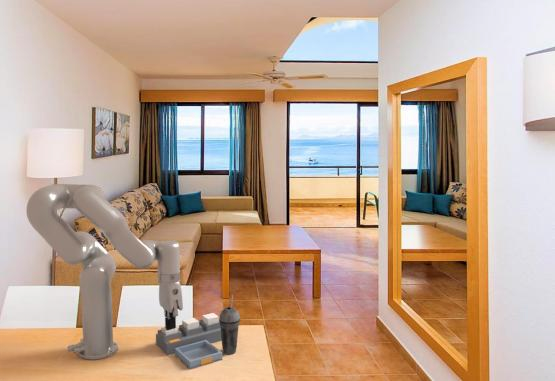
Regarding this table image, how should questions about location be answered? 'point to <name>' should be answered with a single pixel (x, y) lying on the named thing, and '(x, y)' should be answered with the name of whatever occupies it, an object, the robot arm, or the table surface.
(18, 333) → the table surface
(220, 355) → the tray
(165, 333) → the block
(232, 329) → the beverage cup
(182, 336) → the grey switch block
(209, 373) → the table surface
